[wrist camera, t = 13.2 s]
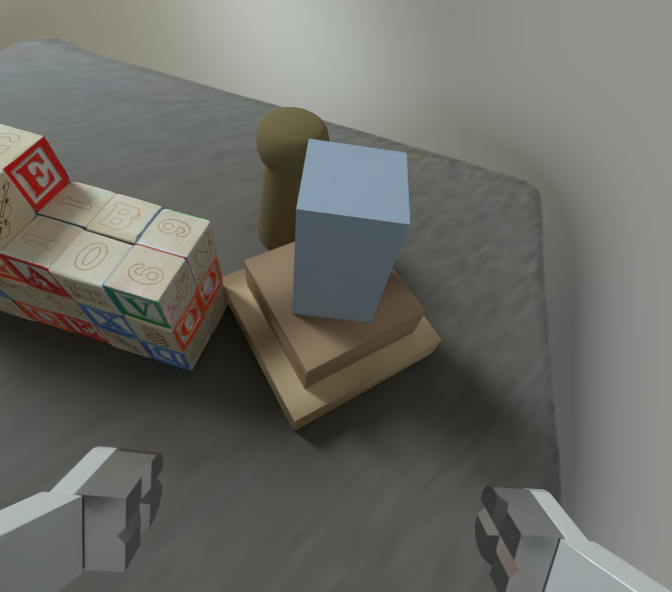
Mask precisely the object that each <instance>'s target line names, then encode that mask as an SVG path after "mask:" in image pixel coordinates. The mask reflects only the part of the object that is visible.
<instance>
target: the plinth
mask: <svg viewBox="0 0 672 592" xmlns="http://www.w3.org/2000/svg"><path fill="white" fill-rule="evenodd" d="M294 253H295V242H293V243H290V244H287V245H284V246H282V247H279V248H276V249H273V250H271V251H268V252H265V253H262V254H260V255H257V256H254V257H251V258H248V259H246V260H244V267H245V269H242V270H239V271H237V272H234V273H231V274H229V275H226V276H223V277H222V278H223V285H224V289H225V293H226V297H227V301H228V304H229V306H230V308H231V310H232V312H233V314H234V316H235V318H236V320H237V322H238V324H239V326H240V328H241V330H242V332H243V334H244V336H245V338H246V340H247V341H248V343H249V345H250V347H251V349H252V351H253V353H254V355H255V357H256V359H257V361H258V363H259V365H260V367H261V369H262V371H263V373H264V375H265V377H266V379H267V381H268V383H269V385H270V386H271V388H272V390H273V392H274V394H275V396H276V398H277V400H278V402H279V404H280V406H281V408H282V410H283V412H284V414H285V416H286V418H287V420H288V422H289V424H290V426H291V428H292V430H293V431H296V430H297V429H299V428H301V427H303V426H304V425H306V424H308V423H310V422H312V421H313V420H315V419H317V418H319V417H320V416H322V415H324V414H326V413H328V412H329V411H331V410H333V409H335V408H336V407H338V406H340V405H342V404H343V403H345V402H347V401H349V400H351V399H352V398H354V397H356V396H358V395H359V394H361V393H363V392H365V391H367V390H368V389H370V388H372V387H374V386H375V385H377V384H379V383H381V382H382V381H384V380H386V379H388V378H390V377H391V376H393V375H395V374H397V373H398V372H400V371H402V370H404V369H406V368H407V367H409V366H411V365H413V364H414V363H416V362H418V361H420V360H421V359H423V358H425V357H427V356H429V355H430V354H432V352H433V351H434V350H435V348H436V347H437V346H438V345H439V343H440V342H441V341H442V339H441V338H440V336H439V335H438V334H437V332H436V331H435V330H434V329H433V327H432V326H431V325H430V323H429V322H428V321H427V320H426V318H425V317H424V315H425V313H426V312H427V311H426V309H425V308H424V307H423V306H422V304H421V303H420V302H419V300H418V299H417V298H416V297H415V295H414V294H413V293H412V292H411V290H410V289H409V288H408V287H407V285H406V284H405V283H404V281H403V280H402V279H401V278H400V276H399V275H398V274H397V273H396V271H395V270H394V269H393V268H392V271H391V274H390V276H389V279H388V281H387V284H386V286H385V289H384V291H383V294H382V296H381V299H380V301H379V304H378V306H377V309H376V311H375V314H374V316H373V319H372V321H371V323H365V322H357V321H348V320H340V319H331V318H323V317H315V316H306V315H298V314H292V305H293V279H294Z"/></svg>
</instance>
